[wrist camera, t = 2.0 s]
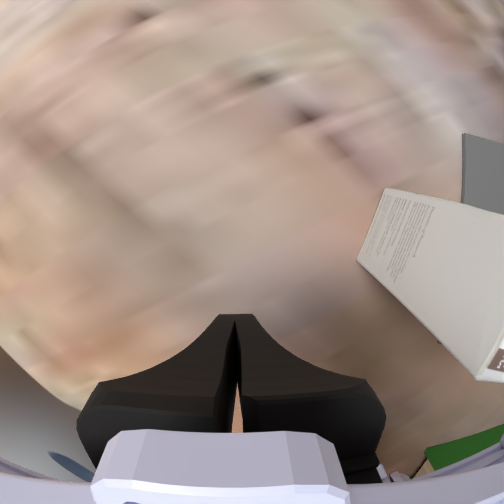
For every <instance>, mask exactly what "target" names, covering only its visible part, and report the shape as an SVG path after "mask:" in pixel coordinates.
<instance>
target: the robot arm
mask: <svg viewBox="0 0 504 504" xmlns="http://www.w3.org/2000/svg"><path fill="white" fill-rule="evenodd" d="M237 382H238V390H239V397H240V404H241V411H242V418H243V433H232V422H233V413H234V405H235V397H236V388H237ZM385 421H386V415H385V410H384V407H383V406H382V404H381V402H380V400H379V399H378V397H377V395H376V394H375V392H374V391H373V389H372V388H371V387H370V385H369V384H368V383H367V381H366V380H365V379H360V378H355V377H350V376H345V375H340V374H337V373H334V372H331V371H327V370H324V369H322V368H319V367H317V366H314V365H312V364H310V363H308V362H306V361H304V360H302V359H300V358H298V357H297V356H295V355H293V354H292V353H290V352H289V351H287V350H286V349H285V348H283V347H282V346H281V345H279V344H278V343H277V342H276V341H275V340H274V339H273V338H272V337H271V336H270V335H269V334H268V333H267V332H266V331H265V330H264V328H263V327H262V326H261V325H260V323H259V322H258V321H257V319H256V318H255V316H254V315H253V314H219V315H218V316H217V317H216V318H215V319H214V320H213V322H212V323H211V324H210V325H209V326H208V328H207V329H206V330H205V331H204V332H203V333H202V334H201V335H200V336H199V337H198V338H197V339H196V340H195V341H194V342H192V343H191V344H190V345H189V346H188V347H187V348H185V349H184V350H182V351H181V352H180V353H178V354H176V355H175V356H173V357H172V358H170V359H168V360H166V361H164V362H162V363H160V364H158V365H156V366H154V367H152V368H150V369H147V370H145V371H142V372H139V373H136V374H133V375H130V376H127V377H123V378H118V379H114V380H109V381H104V382H99V383H98V385H97V386H96V388H95V389H94V391H93V392H92V394H91V395H90V397H89V399H88V401H87V403H86V404H85V406H84V408H83V410H82V412H81V413H80V415H79V417H78V419H77V432H78V435H79V438H80V440H81V442H82V444H83V446H84V448H85V450H86V452H87V453H88V455H89V457H90V459H91V461H92V463H93V465H94V466H95V468H96V471H95V474H94V476H93V479H92V481H91V483H90V482H69V481H60V480H57V479H54V478H51V477H48V476H45V475H42V474H39V473H37V472H34V471H32V470H29V469H27V468H24V467H22V466H19V465H17V464H14V463H12V462H10V461H8V460H5V459H3V458H1V457H0V504H504V434H503V436H502V438H501V440H500V442H499V443H497V444H495V445H493V446H491V447H489V448H487V449H485V450H483V451H481V452H479V453H477V454H475V455H472V456H470V457H468V458H466V459H463V460H461V461H459V462H456V463H454V464H452V465H449V466H447V467H444V468H442V469H439V470H436V471H434V472H431V473H428V474H425V475H423V476H420V477H417V478H414V479H410V478H409V477H408V475H406V474H403V473H399V472H398V471H395V472H393V473H392V474H390V475H389V476H390V480H391V481H390V480H389V478H388V475H387V473H386V471H385V469H384V466H383V464H379V460H378V458H377V455H376V453H375V451H376V448H377V446H378V443H379V440H380V438H381V435H382V432H383V430H384V426H385Z"/></svg>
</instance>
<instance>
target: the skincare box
mask: <svg viewBox="0 0 504 504" xmlns="http://www.w3.org/2000/svg"><path fill="white" fill-rule="evenodd" d="M357 262H358V263H359V264H361V265H362V266H363V267H364V268H365V269H366V270H367V271H368V272H369V273H370V274H371V275H373V276H374V277H375V278H376V279H377V280H378V281H379V282H380V283H381V284H382V285H383V286H384V287H385V288H386V289H387V290H388V291H389V292H390V293H392V294H393V295H394V296H395V297H396V298H397V299H398V300H399V301H400V302H401V303H402V304H403V305H404V306H405V307H406V308H407V309H408V310H409V311H410V312H411V313H412V314H413V315H414V316H415V317H416V318H417V319H418V320H419V321H420V322H421V323H422V324H423V325H424V326H425V327H426V328H427V329H428V330H429V331H430V332H431V333H432V334H433V335H434V336H435V337H436V338H437V339H438V340H439V341H440V342H441V343H442V344H443V346H444V347H445V348H446V349H447V350H448V351H449V352H450V353H451V354H452V355H453V356H454V357H455V358H456V359H457V360H458V361H459V362H460V363H461V364H462V365H463V367H464V368H465V369H466V370H467V371H468V372H469V373H470V374H471V375H472V376H473V378H474V379H475V380H477V381H487V382H498V383H504V215H503V214H498V213H494V212H490V211H487V210H483V209H480V208H476V207H473V206H470V205H467V204H463V203H458V202H454V201H450V200H446V199H441V198H436V197H432V196H427V195H422V194H418V193H412V192H407V191H402V190H397V189H391V188H385V189H384V192H383V194H382V197H381V200H380V202H379V205H378V208H377V210H376V213H375V216H374V218H373V221H372V223H371V226H370V228H369V231H368V233H367V236H366V238H365V240H364V243H363V245H362V248H361V250H360V252H359V255H358V257H357Z"/></svg>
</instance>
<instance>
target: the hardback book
mask: <svg viewBox="0 0 504 504" xmlns="http://www.w3.org/2000/svg"><path fill="white" fill-rule="evenodd" d="M503 434H504V424H502V425H499V426H497V427H494V428H491V429H489V430H486V431H483V432H480V433H477V434H474V435H471V436H468V437H465V438H461V439H458V440H455V441H451V442H448V443H444V444H440V445H436V446H432V447H428V448H427V449H426V450H425V452H424V453H425V455H426V457H427V460H426V462H425V463H424V464H423V466H422V467H421V469H420V470H419V471H418V473H417V474H416V475H415V476H412V477H409V478H410V479H414V478H417V477H420V476H423V475H425V474H428V473H431V472H434V471H436V470H439V469H442V468H444V467H447V466H449V465H452V464H454V463H456V462H459V461H461V460H463V459H466V458H468V457H470V456H472V455H475V454H477V453H479V452H481V451H483V450H485V449H487V448H489V447H491V446H493V445H495V444H497V443H499V442H500V440H501V438H502V436H503Z"/></svg>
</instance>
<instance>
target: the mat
mask: <svg viewBox="0 0 504 504" xmlns="http://www.w3.org/2000/svg"><path fill="white" fill-rule="evenodd" d="M462 145H463V171H462V197H461V203H463V204H467V205H470V206H473V207H476V208H480V209H483V210H487V211H490V212H494V213H498V214H503V215H504V144H501V143H497V142H494V141H491V140H487V139H484V138H480V137H477V136H473V135H469V134H466V133H464V134H462ZM438 343H439V344H442V343H441V342H440V341H439V340H438Z"/></svg>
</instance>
